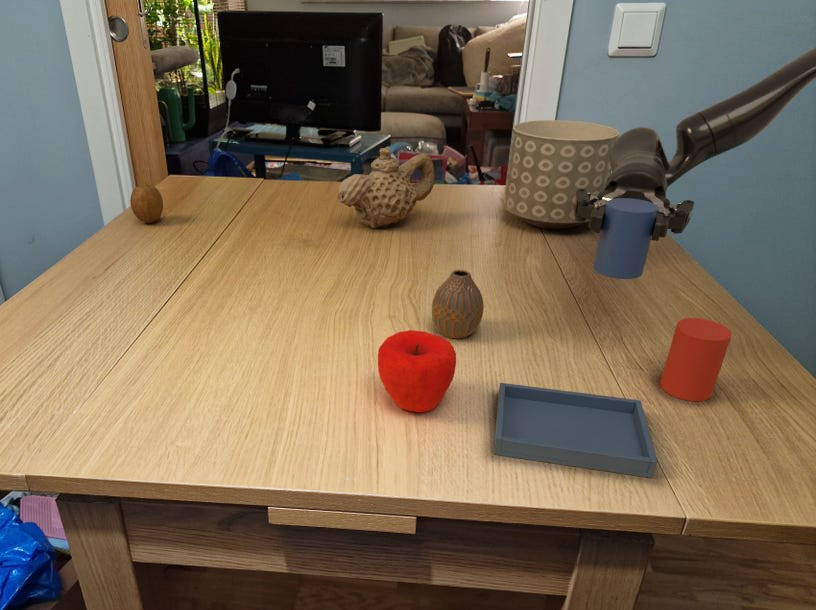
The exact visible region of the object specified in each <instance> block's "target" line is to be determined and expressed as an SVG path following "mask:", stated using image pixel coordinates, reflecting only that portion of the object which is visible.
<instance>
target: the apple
mask: <svg viewBox="0 0 816 610" xmlns="http://www.w3.org/2000/svg"><path fill="white" fill-rule="evenodd" d="M456 367H457V352H456V350H455V348H454V346H453V344H452V343H451V341H450V340H447V339H445V338H444V337H442V336H440V335H436V334H433V333H430V332H427V331H424V330H412V329H409V330H404V331H403V330H402V331H398V332H396V333H394V334H392V335H390V336H387V337H386V339H385V340H384V341H383V342H382V344H381V345H380V346H379V347H378V352H377V370H378V376H379V379H380V382H381V383H382V385H383V388H384V389H385V391H386V393H387V394H388V395H389V398H390V399H391V400H392V401H393V403H394V404H395V405H396V406H398V407H399V408H400V409H403V410H406V411H409V412H415V413H425V412H431V411H432V410H433V409H435V408H436V407H437V406H438V405H439V404H440V403H441V401H442V400H443V398H444V397H445V395H446V393H447V392H448V390H449V388H450V386H451V384H452V381H453V379H454V376H455V374H456V373H455V372H456Z"/></svg>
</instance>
